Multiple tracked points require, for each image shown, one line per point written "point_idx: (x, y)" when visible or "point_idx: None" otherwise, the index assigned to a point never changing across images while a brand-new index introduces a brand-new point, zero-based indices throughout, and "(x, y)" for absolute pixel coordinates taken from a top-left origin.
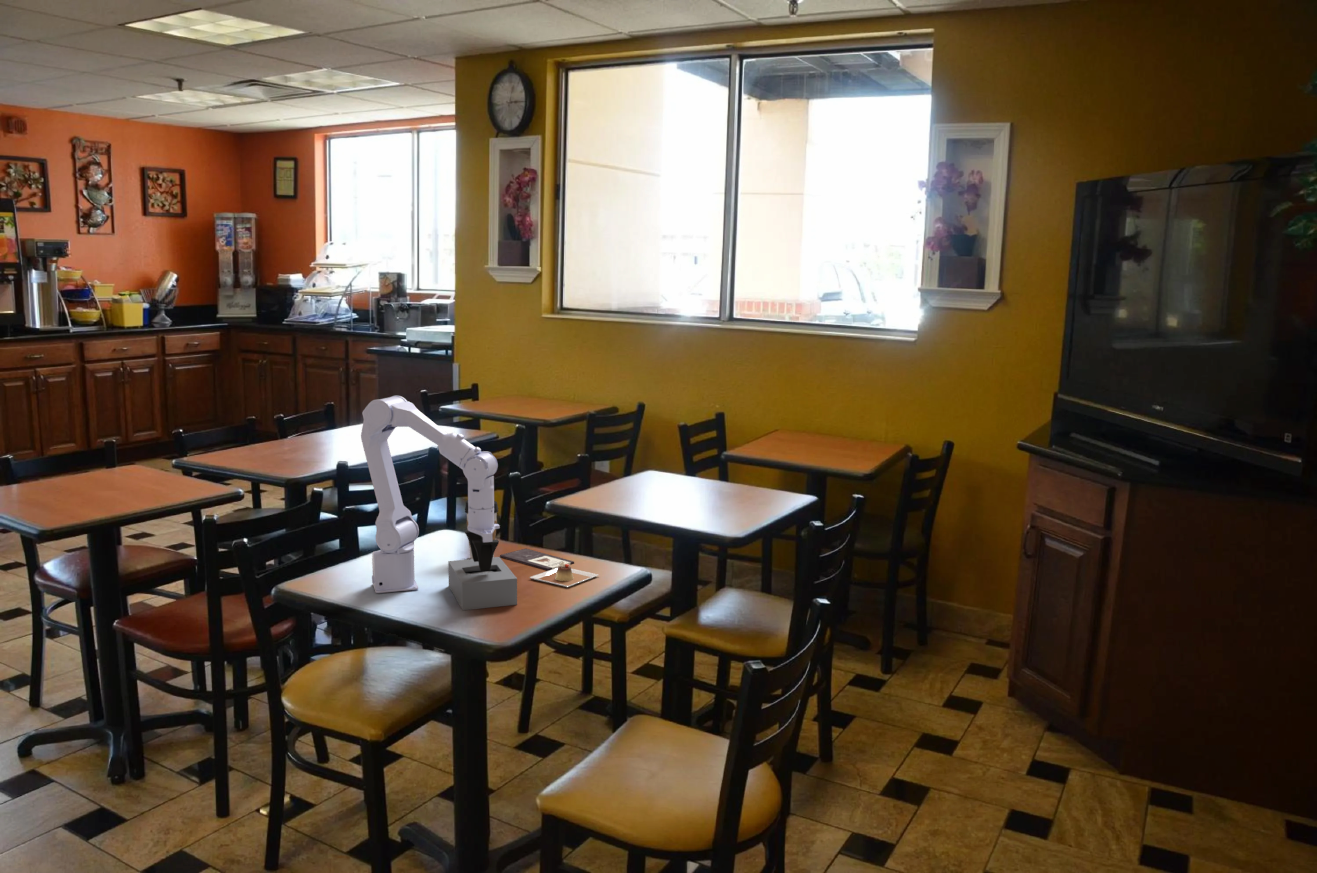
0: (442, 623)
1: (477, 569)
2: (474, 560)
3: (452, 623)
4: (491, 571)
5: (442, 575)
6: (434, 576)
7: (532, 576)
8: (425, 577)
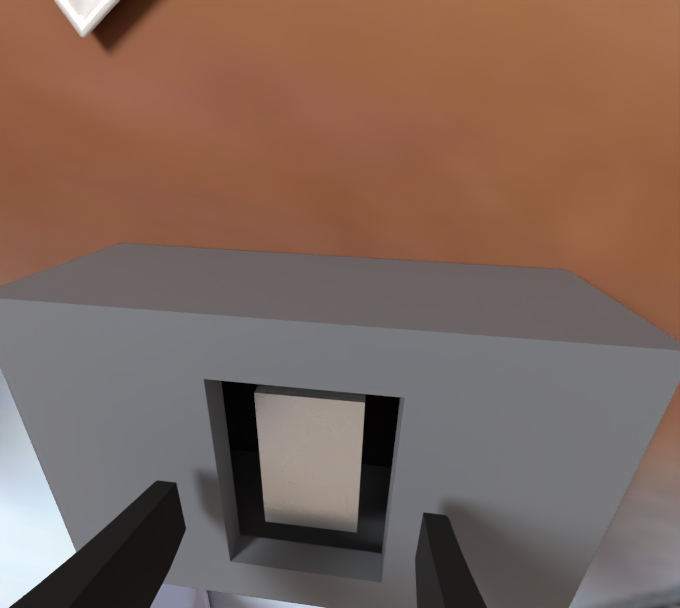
0: (609, 576)
1: (228, 473)
2: (180, 537)
3: (634, 555)
4: (261, 400)
5: (18, 438)
6: (32, 463)
7: (64, 3)
8: (46, 489)
